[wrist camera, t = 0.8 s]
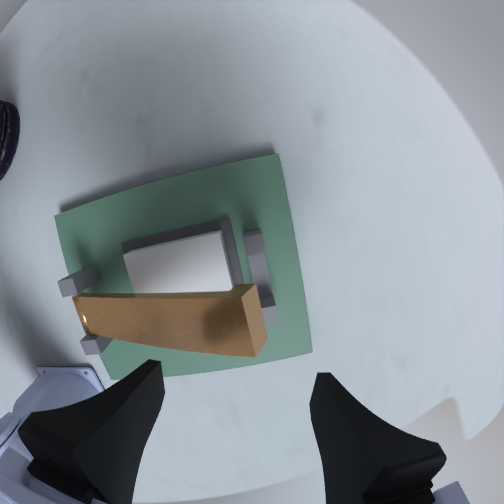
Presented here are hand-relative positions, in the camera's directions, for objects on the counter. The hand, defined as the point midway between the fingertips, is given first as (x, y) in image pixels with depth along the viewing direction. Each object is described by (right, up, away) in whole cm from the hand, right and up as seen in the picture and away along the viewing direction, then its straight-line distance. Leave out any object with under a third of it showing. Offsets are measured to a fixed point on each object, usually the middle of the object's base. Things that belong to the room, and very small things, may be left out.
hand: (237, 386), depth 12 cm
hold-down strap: (-5, +2, +4) cm, 7 cm away
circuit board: (-5, +4, +10) cm, 12 cm away
